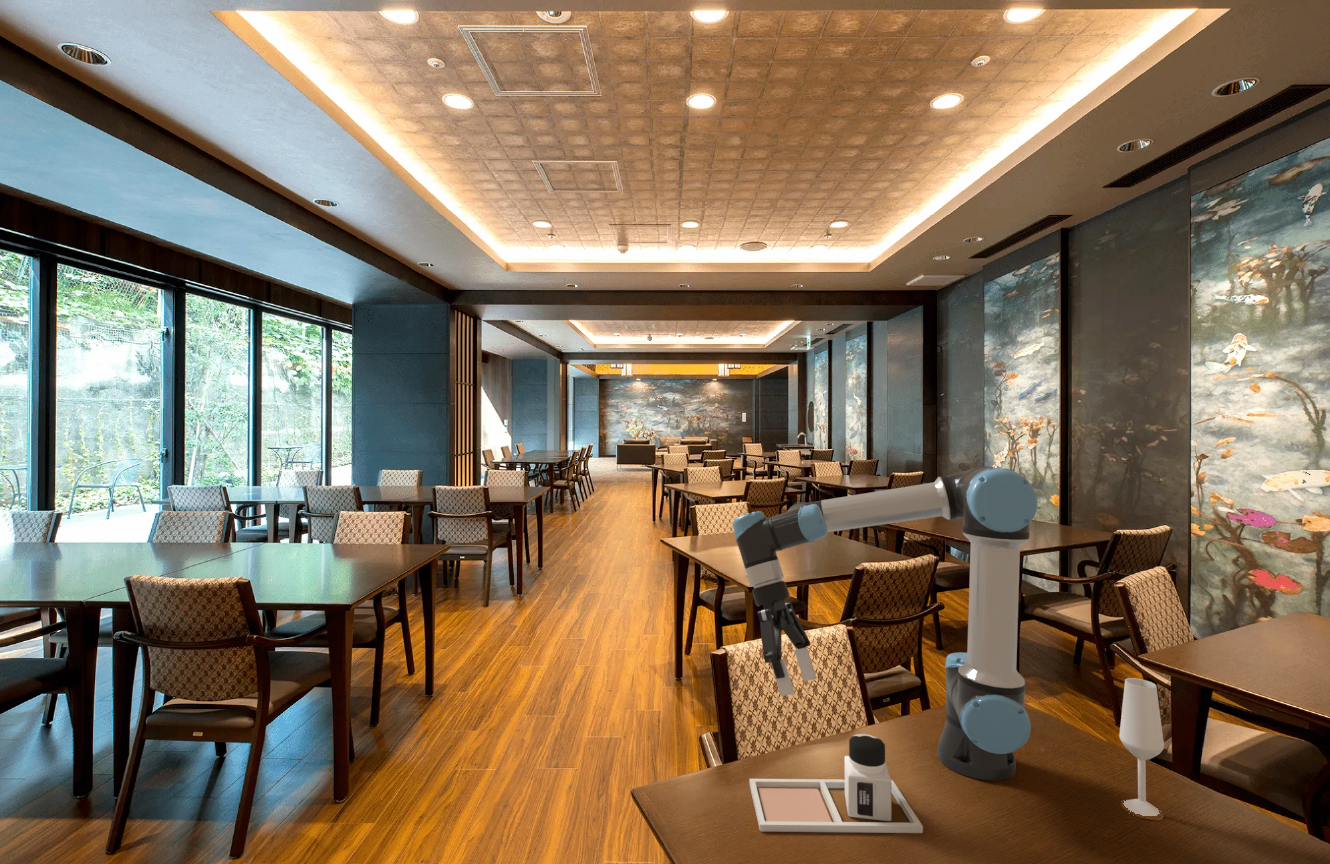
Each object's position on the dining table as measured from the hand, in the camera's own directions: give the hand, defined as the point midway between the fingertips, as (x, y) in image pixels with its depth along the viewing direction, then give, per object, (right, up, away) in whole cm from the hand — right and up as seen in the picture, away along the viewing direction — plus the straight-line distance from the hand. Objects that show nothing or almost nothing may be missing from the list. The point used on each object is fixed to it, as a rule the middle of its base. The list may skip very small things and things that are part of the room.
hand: (799, 687), depth 125 cm
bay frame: (+4, -19, -8) cm, 22 cm away
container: (+11, -20, -9) cm, 24 cm away
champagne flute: (+63, -20, -9) cm, 67 cm away
